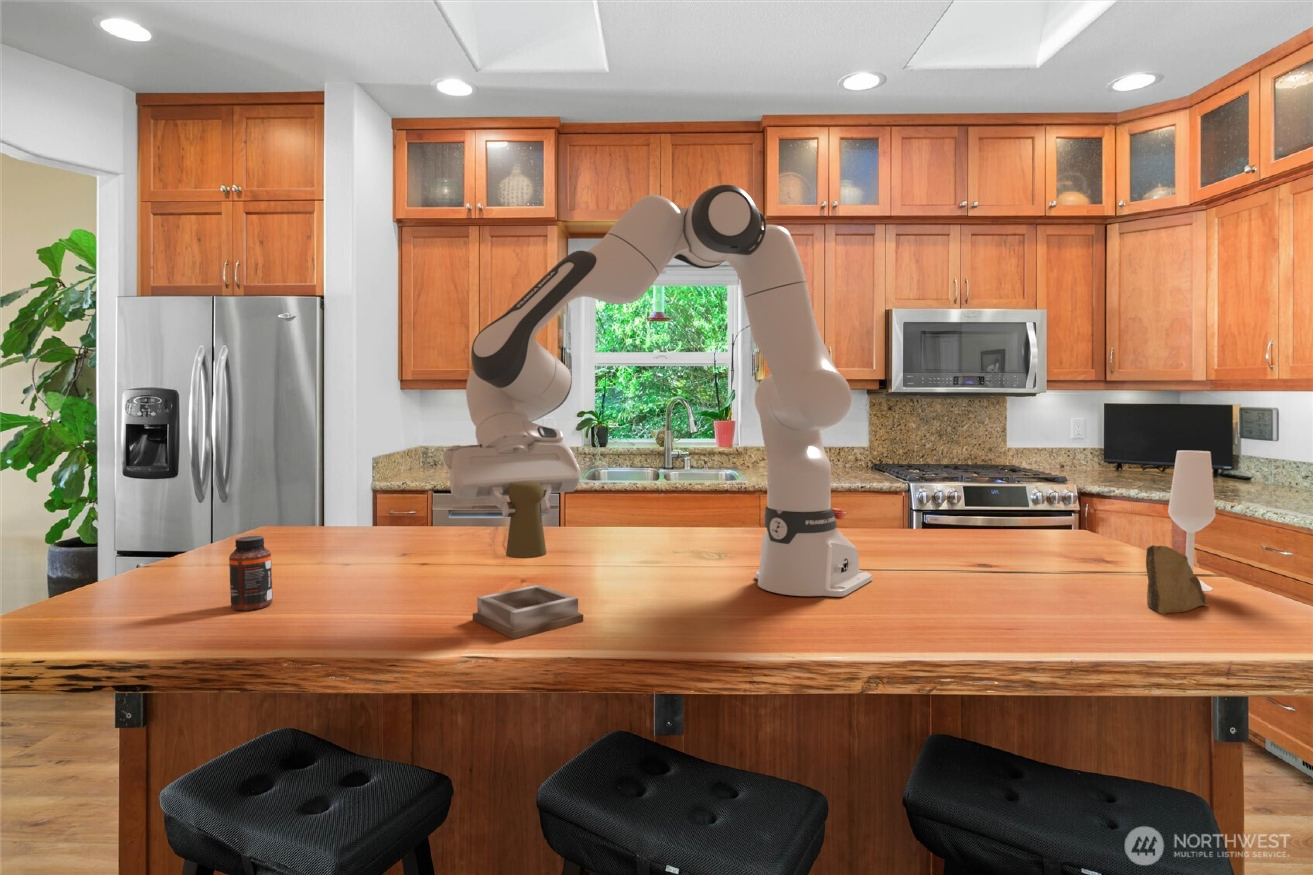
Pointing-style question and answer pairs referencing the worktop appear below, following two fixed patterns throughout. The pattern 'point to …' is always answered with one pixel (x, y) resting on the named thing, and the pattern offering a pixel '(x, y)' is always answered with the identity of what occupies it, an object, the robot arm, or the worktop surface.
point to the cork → (526, 521)
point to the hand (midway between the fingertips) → (527, 513)
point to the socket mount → (527, 611)
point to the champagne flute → (1192, 497)
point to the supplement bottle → (250, 574)
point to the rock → (1171, 582)
